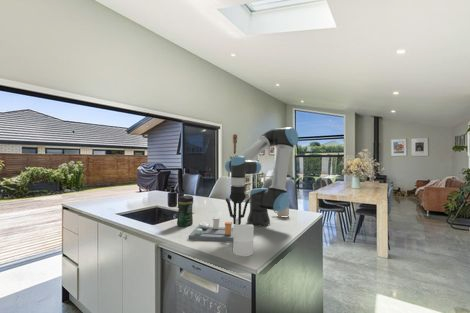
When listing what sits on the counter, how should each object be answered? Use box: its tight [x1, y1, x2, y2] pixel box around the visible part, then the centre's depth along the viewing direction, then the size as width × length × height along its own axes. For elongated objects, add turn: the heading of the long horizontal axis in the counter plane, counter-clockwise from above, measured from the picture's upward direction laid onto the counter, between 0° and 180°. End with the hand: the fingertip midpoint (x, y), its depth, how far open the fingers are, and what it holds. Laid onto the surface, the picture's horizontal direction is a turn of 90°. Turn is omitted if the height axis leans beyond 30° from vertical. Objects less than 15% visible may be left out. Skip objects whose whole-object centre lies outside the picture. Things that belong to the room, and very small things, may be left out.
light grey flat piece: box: [198, 220, 211, 229], centre depth 136 cm, size 5×7×1 cm
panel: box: [188, 225, 234, 243], centre depth 131 cm, size 24×18×4 cm
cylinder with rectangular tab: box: [232, 223, 255, 257], centre depth 107 cm, size 9×9×12 cm
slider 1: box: [212, 216, 221, 229], centre depth 135 cm, size 3×3×6 cm
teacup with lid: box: [272, 204, 290, 217], centre depth 179 cm, size 12×9×12 cm
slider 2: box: [224, 221, 233, 235], centre depth 125 cm, size 3×3×6 cm
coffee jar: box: [176, 194, 194, 228], centre depth 150 cm, size 10×8×19 cm
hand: (236, 230), depth 125 cm, fingers closed
